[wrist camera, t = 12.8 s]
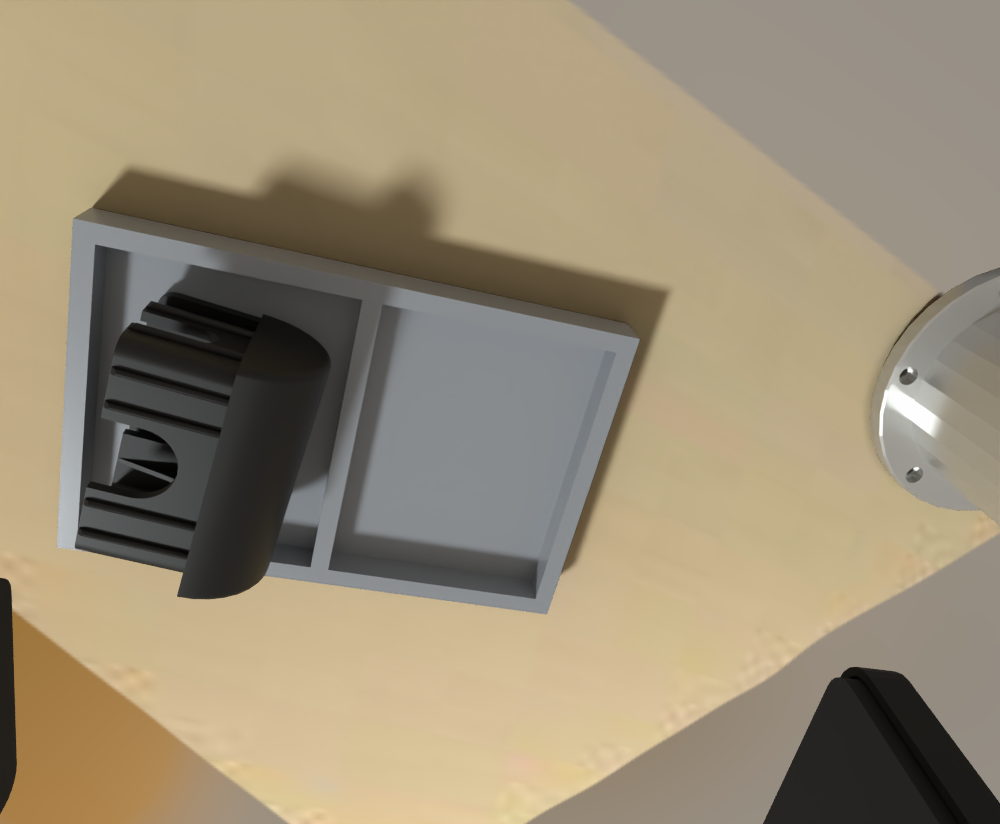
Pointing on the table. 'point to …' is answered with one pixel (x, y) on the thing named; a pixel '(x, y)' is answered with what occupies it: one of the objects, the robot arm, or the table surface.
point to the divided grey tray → (375, 410)
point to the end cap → (204, 442)
